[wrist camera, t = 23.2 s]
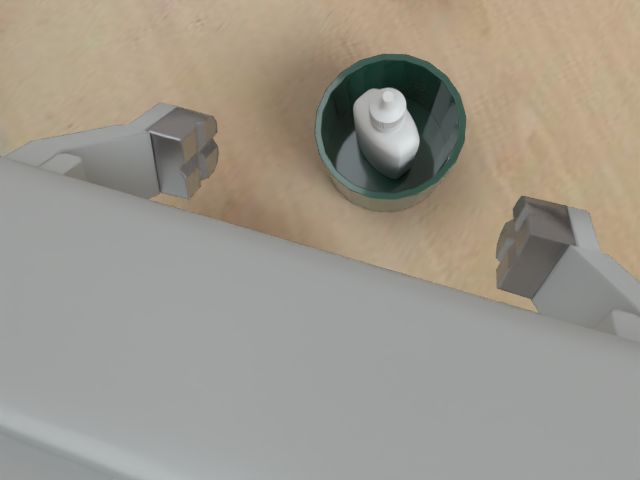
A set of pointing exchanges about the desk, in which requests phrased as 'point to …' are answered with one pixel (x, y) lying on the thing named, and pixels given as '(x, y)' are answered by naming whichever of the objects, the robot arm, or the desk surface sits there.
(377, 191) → the tin
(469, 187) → the desk surface
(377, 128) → the eye dropper bottle
